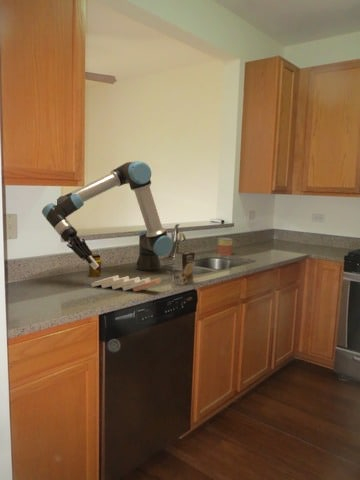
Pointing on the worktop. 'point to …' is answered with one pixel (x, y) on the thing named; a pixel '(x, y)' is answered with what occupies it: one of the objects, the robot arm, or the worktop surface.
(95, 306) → the worktop surface
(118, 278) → the domino
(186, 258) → the coffee box
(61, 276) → the worktop surface
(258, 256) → the worktop surface
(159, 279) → the domino
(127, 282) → the domino
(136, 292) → the mat
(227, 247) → the canned food
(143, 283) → the domino
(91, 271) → the condiment
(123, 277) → the domino
